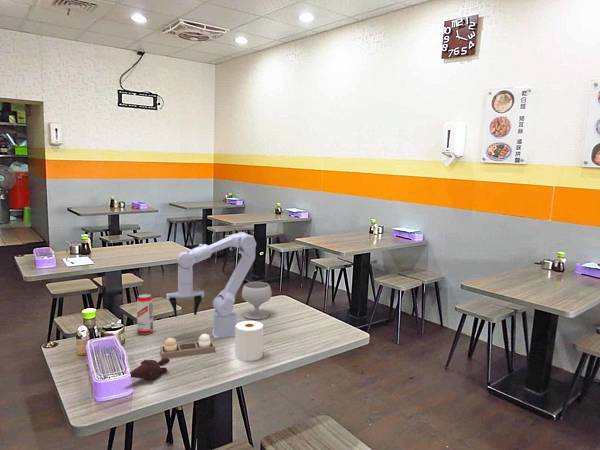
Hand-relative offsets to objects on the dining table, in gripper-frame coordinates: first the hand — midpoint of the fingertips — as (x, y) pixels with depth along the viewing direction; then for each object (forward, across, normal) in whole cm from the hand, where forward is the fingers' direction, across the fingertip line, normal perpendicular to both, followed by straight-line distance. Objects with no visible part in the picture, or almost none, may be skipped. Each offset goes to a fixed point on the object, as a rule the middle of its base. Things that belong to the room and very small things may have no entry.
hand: (185, 315), depth 176 cm
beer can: (+11, +15, -13) cm, 22 cm away
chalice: (+10, -35, -19) cm, 41 cm away
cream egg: (+10, -6, +13) cm, 17 cm away
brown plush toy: (+11, +16, +30) cm, 35 cm away
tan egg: (+10, +7, +13) cm, 18 cm away
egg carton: (+10, +1, +13) cm, 17 cm away
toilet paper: (+10, -20, +23) cm, 32 cm away
